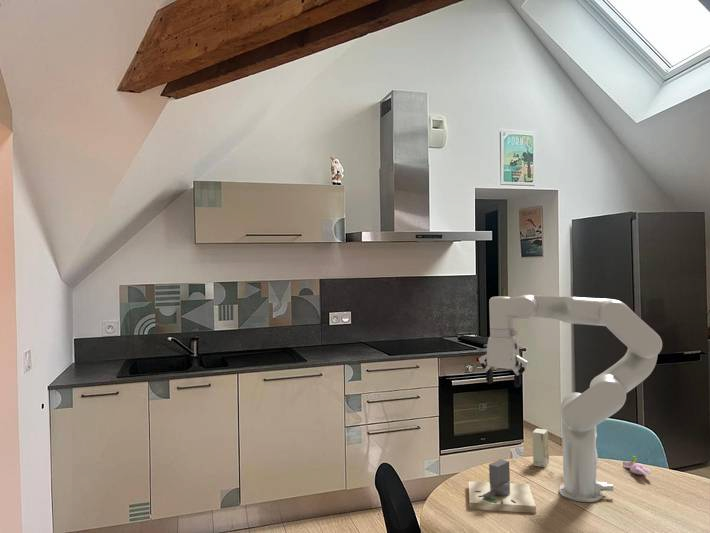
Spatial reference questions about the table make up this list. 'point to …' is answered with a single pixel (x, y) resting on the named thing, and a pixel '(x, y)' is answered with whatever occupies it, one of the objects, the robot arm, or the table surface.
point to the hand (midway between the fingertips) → (503, 384)
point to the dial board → (501, 498)
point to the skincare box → (540, 447)
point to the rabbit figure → (636, 467)
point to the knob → (499, 479)
